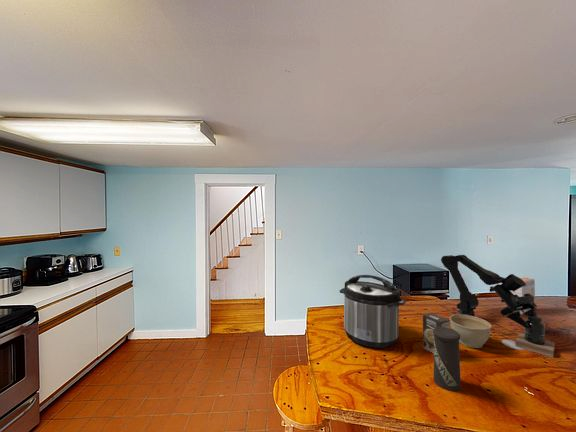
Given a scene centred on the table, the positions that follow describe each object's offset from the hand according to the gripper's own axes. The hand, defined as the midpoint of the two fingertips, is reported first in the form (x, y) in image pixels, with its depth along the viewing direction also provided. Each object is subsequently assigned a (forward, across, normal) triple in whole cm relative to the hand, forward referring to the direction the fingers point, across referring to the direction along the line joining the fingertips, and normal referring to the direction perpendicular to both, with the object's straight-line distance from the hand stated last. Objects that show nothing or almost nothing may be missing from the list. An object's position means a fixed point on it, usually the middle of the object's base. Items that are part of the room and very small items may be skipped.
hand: (534, 326), depth 113 cm
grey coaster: (+4, -7, +10) cm, 13 cm away
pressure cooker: (-17, -65, +32) cm, 75 cm away
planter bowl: (-1, -25, +16) cm, 30 cm away
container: (+10, -61, +3) cm, 62 cm away
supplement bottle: (+5, 0, +5) cm, 7 cm away
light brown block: (+7, 0, +6) cm, 10 cm away
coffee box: (-2, -47, +16) cm, 49 cm away
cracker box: (-12, +44, +26) cm, 53 cm away
